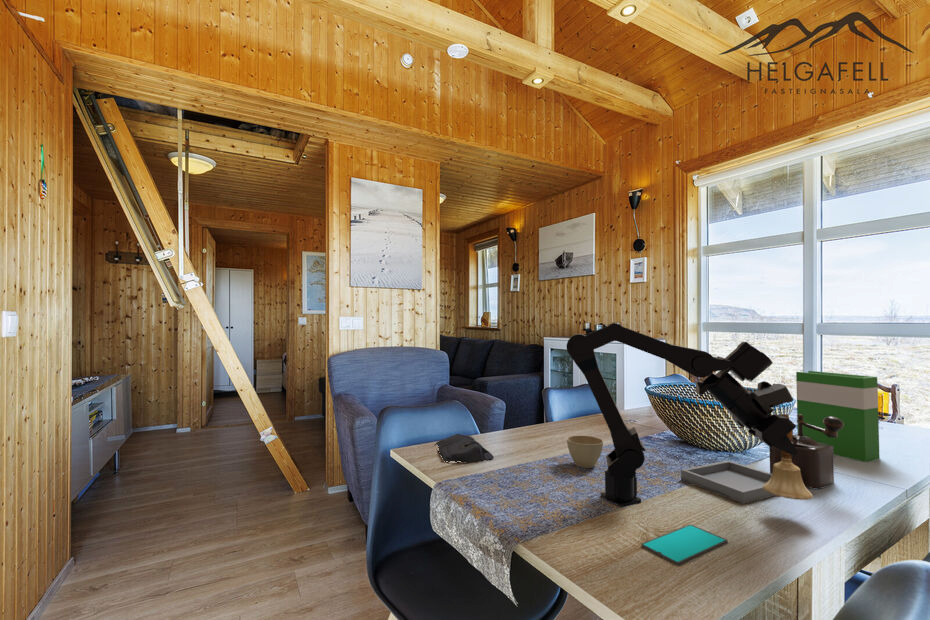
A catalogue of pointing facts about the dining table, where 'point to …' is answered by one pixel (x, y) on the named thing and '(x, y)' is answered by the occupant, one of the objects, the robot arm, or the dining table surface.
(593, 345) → the robot arm
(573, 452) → the flower pot
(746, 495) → the tray
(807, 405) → the hardback book
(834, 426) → the manual coffee grinder
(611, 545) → the dining table surface
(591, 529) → the dining table surface
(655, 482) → the dining table surface
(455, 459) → the dark slate chunk
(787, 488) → the hand bell
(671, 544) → the smartphone
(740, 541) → the dining table surface
